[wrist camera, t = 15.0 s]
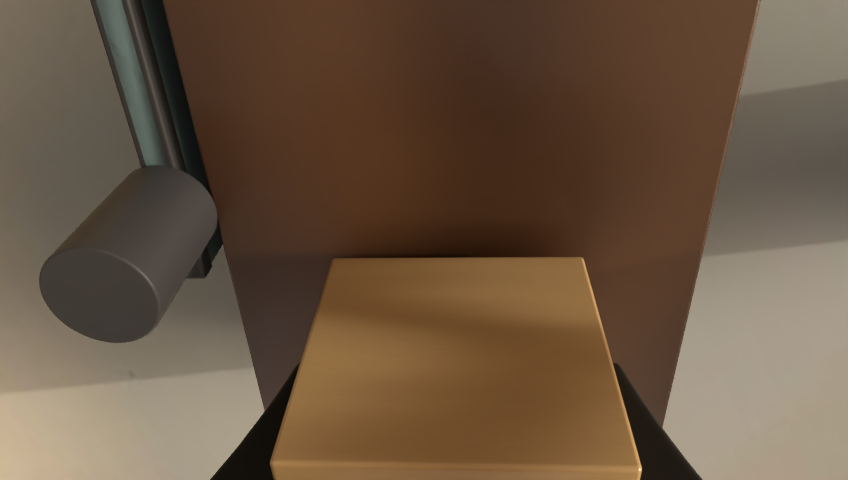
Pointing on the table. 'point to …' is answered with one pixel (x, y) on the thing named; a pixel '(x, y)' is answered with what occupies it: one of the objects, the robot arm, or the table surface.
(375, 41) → the cabinet
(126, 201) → the knobbed grey lever
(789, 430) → the table surface
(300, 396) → the block
